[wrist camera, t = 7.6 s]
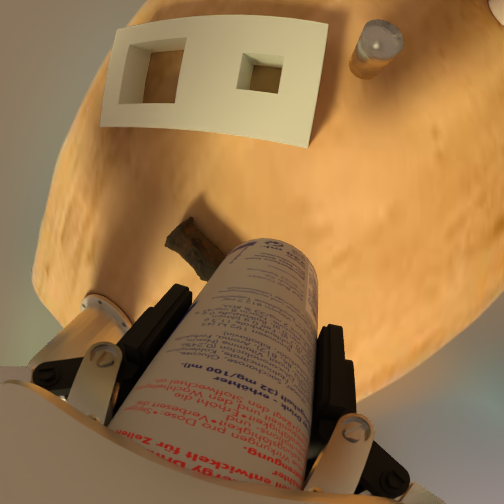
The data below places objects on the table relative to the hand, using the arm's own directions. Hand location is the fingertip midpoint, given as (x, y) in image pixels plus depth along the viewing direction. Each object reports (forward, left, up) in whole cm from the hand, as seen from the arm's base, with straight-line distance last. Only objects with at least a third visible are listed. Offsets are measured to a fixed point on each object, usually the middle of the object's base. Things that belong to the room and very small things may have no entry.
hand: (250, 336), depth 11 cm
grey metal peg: (+17, -4, -19) cm, 26 cm away
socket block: (+13, +11, -19) cm, 26 cm away
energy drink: (0, 0, -5) cm, 5 cm away
